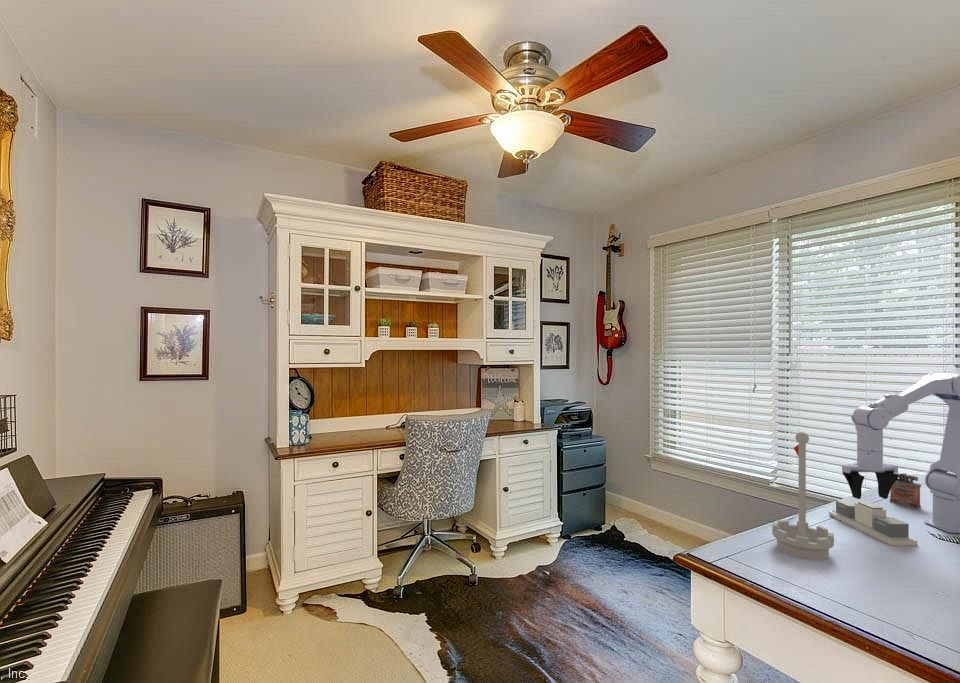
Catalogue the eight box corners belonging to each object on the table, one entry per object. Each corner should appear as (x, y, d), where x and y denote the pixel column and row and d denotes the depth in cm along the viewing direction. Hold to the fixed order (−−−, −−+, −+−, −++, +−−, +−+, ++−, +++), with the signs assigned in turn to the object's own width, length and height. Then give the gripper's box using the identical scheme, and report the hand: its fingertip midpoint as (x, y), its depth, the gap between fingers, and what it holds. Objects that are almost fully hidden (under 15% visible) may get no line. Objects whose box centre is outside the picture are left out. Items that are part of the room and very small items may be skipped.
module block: (868, 520, 140) (868, 501, 140) (886, 528, 134) (886, 508, 134) (854, 520, 140) (854, 501, 140) (871, 528, 134) (871, 508, 134)
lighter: (887, 501, 161) (887, 471, 161) (893, 500, 163) (893, 470, 163) (917, 509, 154) (917, 477, 154) (923, 507, 156) (923, 476, 156)
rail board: (851, 515, 149) (851, 498, 149) (917, 545, 127) (917, 526, 127) (829, 515, 148) (829, 498, 148) (890, 545, 126) (890, 526, 126)
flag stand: (844, 564, 116) (845, 438, 116) (784, 559, 119) (784, 436, 119) (818, 542, 129) (818, 428, 129) (764, 538, 131) (764, 426, 131)
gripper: (883, 446, 142) (883, 493, 142) (833, 446, 141) (833, 493, 141) (904, 452, 135) (904, 501, 135) (852, 452, 134) (852, 501, 134)
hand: (869, 497), depth 138 cm, fingers open, 7 cm apart
